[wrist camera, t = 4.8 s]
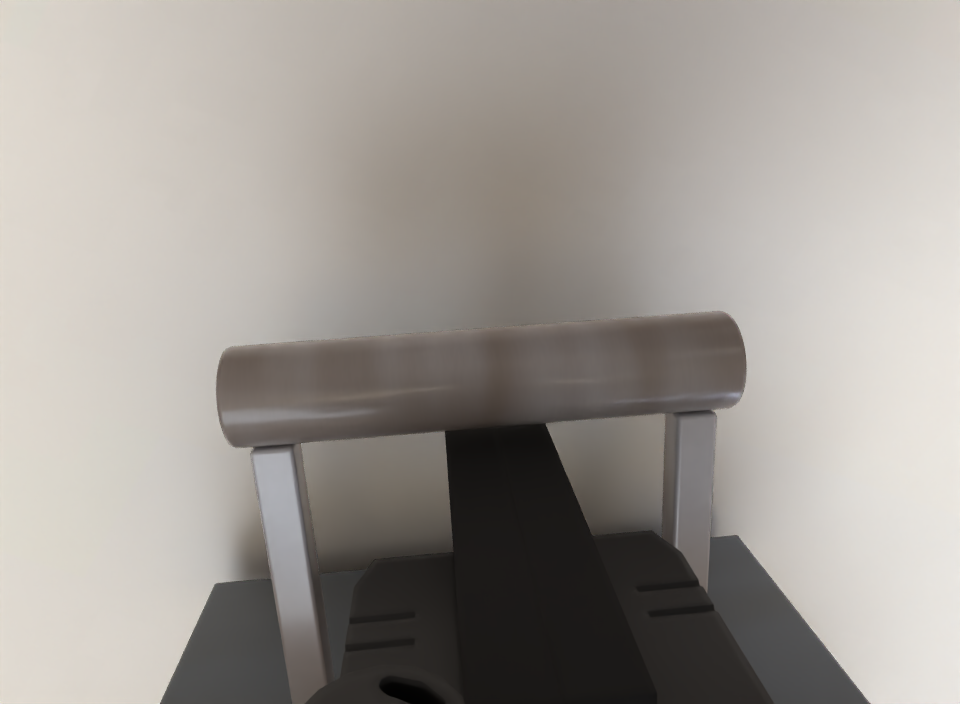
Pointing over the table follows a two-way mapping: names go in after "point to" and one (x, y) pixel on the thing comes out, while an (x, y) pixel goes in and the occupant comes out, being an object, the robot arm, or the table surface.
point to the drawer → (463, 406)
